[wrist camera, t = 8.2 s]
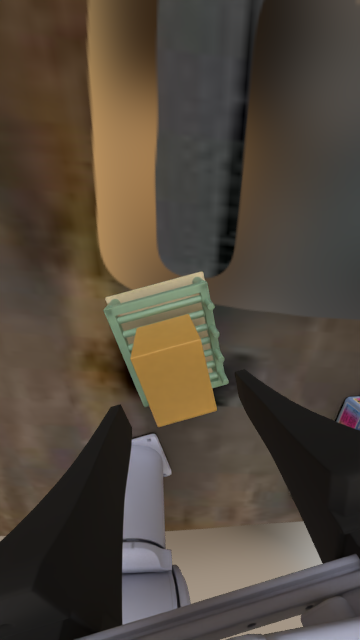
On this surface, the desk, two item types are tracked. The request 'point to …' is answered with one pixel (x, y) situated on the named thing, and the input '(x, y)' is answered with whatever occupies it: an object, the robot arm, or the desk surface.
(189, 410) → the ochre box
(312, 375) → the desk surface
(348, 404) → the ink cartridge box
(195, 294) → the dish rack
